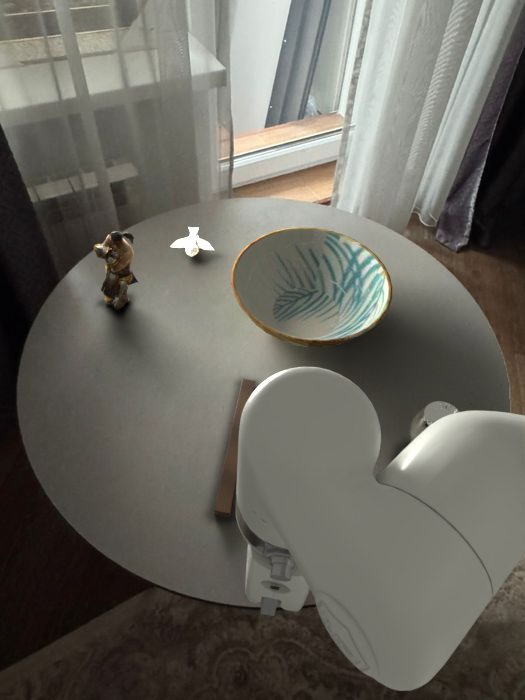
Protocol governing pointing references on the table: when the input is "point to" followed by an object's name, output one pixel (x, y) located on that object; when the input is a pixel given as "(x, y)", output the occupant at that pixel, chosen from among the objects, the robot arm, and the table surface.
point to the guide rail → (232, 455)
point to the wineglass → (430, 417)
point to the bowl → (311, 286)
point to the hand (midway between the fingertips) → (270, 567)
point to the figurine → (116, 267)
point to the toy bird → (192, 243)
